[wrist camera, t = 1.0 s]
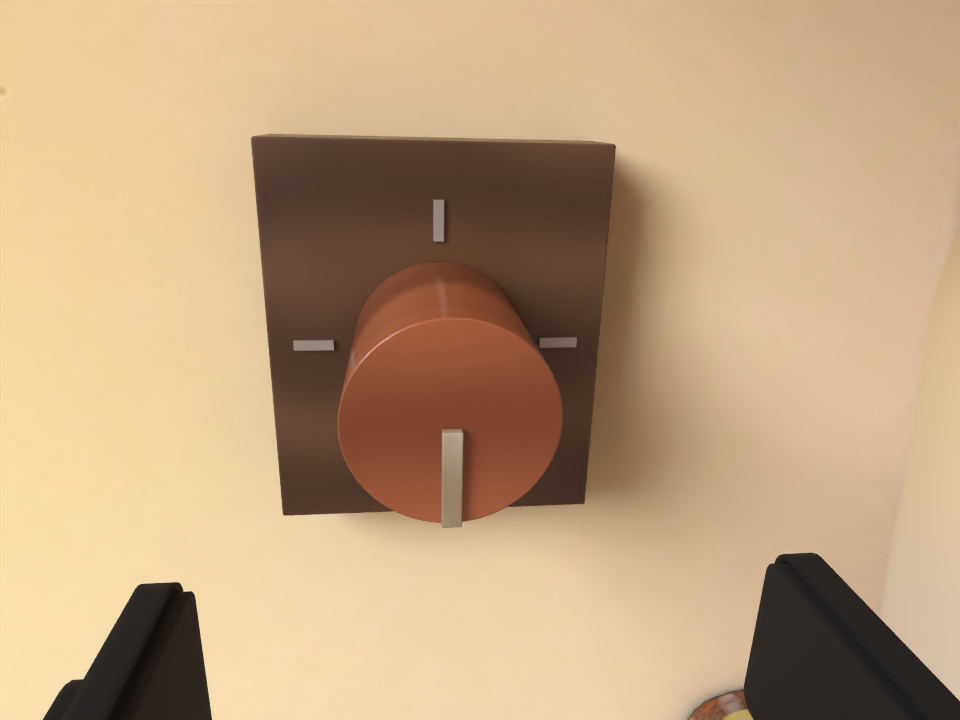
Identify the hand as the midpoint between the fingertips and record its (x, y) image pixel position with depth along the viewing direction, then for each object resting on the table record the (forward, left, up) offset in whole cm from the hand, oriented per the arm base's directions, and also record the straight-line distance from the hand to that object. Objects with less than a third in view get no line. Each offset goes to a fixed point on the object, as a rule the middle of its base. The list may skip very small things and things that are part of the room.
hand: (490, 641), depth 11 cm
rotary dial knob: (0, 0, -15) cm, 15 cm away
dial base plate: (0, 0, -18) cm, 18 cm away
